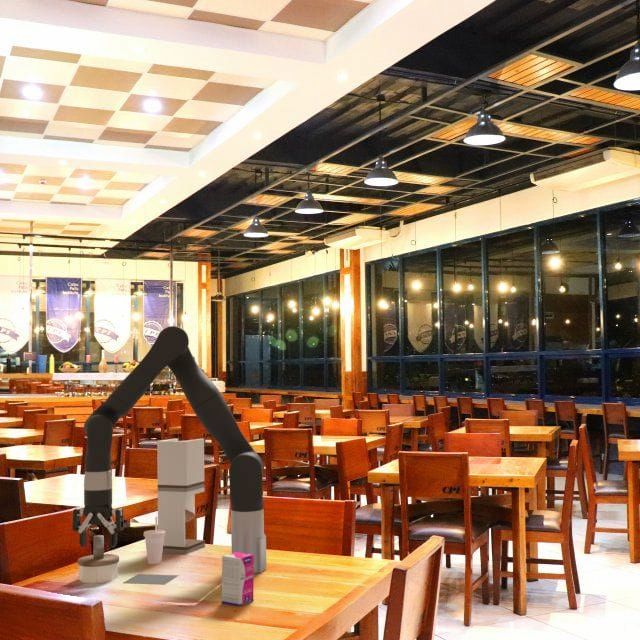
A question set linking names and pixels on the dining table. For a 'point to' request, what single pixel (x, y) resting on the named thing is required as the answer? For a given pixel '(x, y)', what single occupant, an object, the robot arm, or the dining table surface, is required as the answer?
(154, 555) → the smoothie
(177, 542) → the white coffee maker
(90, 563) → the lid
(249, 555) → the supplement box
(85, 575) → the bowl
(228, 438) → the robot arm
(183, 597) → the dining table surface
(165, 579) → the mat
